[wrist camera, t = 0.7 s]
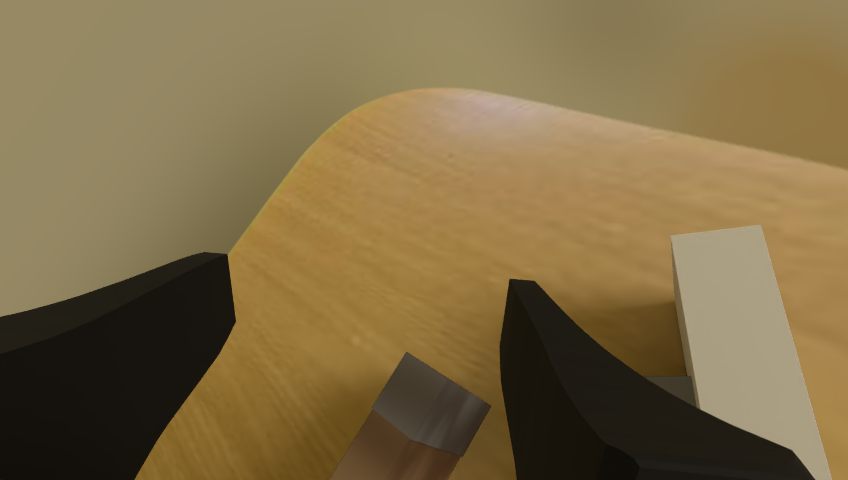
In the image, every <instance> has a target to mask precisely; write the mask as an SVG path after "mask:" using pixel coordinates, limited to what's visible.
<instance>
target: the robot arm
mask: <svg viewBox="0 0 848 480" xmlns="http://www.w3.org/2000/svg"><path fill="white" fill-rule="evenodd" d="M235 322H236V318H235V310H234V302H233V295H232V287H231V279H230V271H229V263H228V255H227V254H220V253H208V252H203V253H199V254H195V255H191V256H188V257H185V258H182V259H179V260H177V261H174V262H171V263H169V264H166V265H163V266H161V267H158V268H155V269H153V270H150V271H147V272H145V273H142V274H139V275H137V276H134V277H132V278H129V279H126V280H124V281H121V282H118V283H115V284H112V285H109V286H106V287H103V288H101V289H98V290H95V291H92V292H89V293H86V294H83V295H80V296H77V297H74V298H71V299H67V300H65V301H61V302H57V303H54V304H50V305H47V306H43V307H39V308H36V309H32V310H28V311H24V312H20V313H16V314H12V315H7V316H2V317H0V480H134V479H135V477H136V476H137V474H138V472H139V471H140V469H141V467H142V465H143V464H144V462H145V460H146V459H147V457H148V455H149V453H150V452H151V450H152V448H153V447H154V445H155V443H156V441H157V440H158V438H159V437H160V435H161V434H162V432H163V431H164V429H165V428H166V426H167V425H168V423H169V422H170V421H171V419H172V418H173V417H174V415H175V414H176V413H177V411H178V410H179V408H180V407H181V406H182V404H183V403H184V402H185V400H186V399H187V398H188V396H189V395H190V394H191V392H192V391H193V389H194V388H195V387H196V385H197V384H198V383H199V381H200V380H201V379H202V377H203V376H204V374H205V373H206V372H207V370H208V369H209V367H210V366H211V365H212V363H213V362H214V360H215V359H216V358H217V356H218V355H219V353H220V351H221V350H222V348H223V346H224V344H225V342H226V340H227V339H228V337H229V335H230V333H231V330H232V328H233V326H234V324H235ZM500 371H501V384H502V391H503V397H504V403H505V409H506V414H507V420H508V426H509V432H510V437H511V443H512V449H513V455H514V461H515V469H516V477H517V480H815V478H814V477H813V476H812V474H811V473H810V472H809V471H808V469H807V468H806V467H805V465H804V464H803V463H802V462H801V460H800V459H799V458H798V457H797V455H796V454H795V453H794V452H793V450H791V449H789V448H786V447H784V446H781V445H779V444H777V443H774V442H772V441H769V440H767V439H765V438H762V437H760V436H757V435H755V434H753V433H750V432H748V431H746V430H743V429H741V428H738V427H736V426H734V425H731V424H729V423H727V422H725V421H723V420H721V419H719V418H717V417H715V416H713V415H711V414H709V413H707V412H705V411H703V410H701V409H699V408H697V407H695V406H693V405H691V404H689V403H687V402H685V401H683V400H682V399H680V398H678V397H676V396H674V395H673V394H671V393H669V392H668V391H666V390H664V389H663V388H661V387H659V386H658V385H656V384H654V383H653V382H651V381H649V380H648V379H646V378H645V377H643V376H641V375H640V374H638V373H637V372H635V371H634V370H632V369H631V368H630V367H628V366H627V365H626V364H624V363H623V362H621V361H620V360H619V359H617V358H616V357H614V356H613V355H612V354H610V353H609V352H608V351H607V350H605V349H604V348H603V347H602V346H600V345H599V344H598V343H597V342H596V341H595V340H594V339H592V338H591V337H590V336H589V335H588V334H587V333H585V332H584V331H583V330H582V329H581V328H580V327H579V326H578V325H577V324H576V323H575V322H574V321H573V320H572V319H571V318H570V317H569V316H568V315H567V314H566V313H565V312H564V311H563V310H562V309H561V308H560V307H559V306H558V305H557V304H556V303H555V302H554V301H553V300H552V299H551V298H550V297H549V296H548V295H547V294H546V292H545V291H544V290H543V289H542V288H541V287H540V286H539V285H538V284H537V283H536V282H535V281H529V280H518V279H510V280H509V287H508V293H507V300H506V307H505V314H504V320H503V327H502V334H501V341H500Z"/></svg>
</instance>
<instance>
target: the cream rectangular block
mask: <svg viewBox="0 0 848 480" xmlns="http://www.w3.org/2000/svg"><path fill="white" fill-rule="evenodd" d="M671 250H672V266H673V282H674V297H675V306H676V312H677V318H678V324H679V330H680V336H681V342H682V348H683V354H684V360H685V366H686V372H687V376H643V377H645V378H646V379H648V380H649V381H651V382H653V383H654V384H656V385H658V386H659V387H661V388H663V389H664V390H666V391H668V392H669V393H671V394H673V395H674V396H676V397H678V398H680V399H682V400H683V401H685V402H687V403H689V404H691V405H693V406H695V407H697V408H699V409H701V410H703V411H705V412H707V413H709V414H711V415H713V416H715V417H717V418H719V419H721V420H723V421H725V422H727V423H729V424H731V425H734V426H736V427H738V428H741V429H743V430H746V431H748V432H750V433H753V434H755V435H757V436H760V437H762V438H765V439H767V440H769V441H772V442H774V443H777V444H779V445H781V446H784V447H786V448H789V449H791V450H793V452H794V453H795V454H796V455H797V457H798V458H799V459H800V460H801V462H802V463H803V464H804V465H805V467H806V468H807V469H808V471H809V472H810V473H811V474H812V476H813V477H814V478H815V480H832V477H831V474H830V470H829V466H828V463H827V459H826V456H825V452H824V449H823V445H822V441H821V438H820V434H819V431H818V427H817V424H816V420H815V416H814V413H813V409H812V406H811V402H810V399H809V395H808V391H807V388H806V384H805V381H804V377H803V374H802V370H801V366H800V363H799V359H798V356H797V352H796V349H795V345H794V342H793V338H792V334H791V331H790V327H789V324H788V320H787V317H786V313H785V309H784V306H783V302H782V299H781V295H780V292H779V288H778V284H777V281H776V277H775V274H774V270H773V267H772V263H771V259H770V256H769V252H768V249H767V245H766V242H765V238H764V234H763V231H762V227H761V225H755V226H746V227H738V228H730V229H721V230H713V231H705V232H696V233H688V234H680V235H671Z"/></svg>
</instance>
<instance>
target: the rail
mask: <svg viewBox="0 0 848 480" xmlns="http://www.w3.org/2000/svg"><path fill="white" fill-rule="evenodd" d="M490 407H491V406H490V405H489V404H487V403H486V402H484V401H483V400H481V399H479V398H478V397H476V396H475V395H473V394H472V393H470V392H469V391H467V390H466V389H464V388H463V387H461V386H460V385H458V384H457V383H455V382H453V381H452V380H450V379H449V378H447V377H446V376H444V375H442V374H441V373H439V372H438V371H436V370H435V369H433V368H431V367H430V366H428V365H427V364H425V363H424V362H422V361H420V360H419V359H417V358H416V357H414V356H413V355H411V354H409V353H408V352H406V353H405V355H404V356H403V358H402V360H401V361H400V363H399V364H398V366H397V368H396V369H395V371H394V373H393V374H392V376H391V377H390V379H389V381H388V382H387V384H386V385H385V387H384V389H383V390H382V392H381V393H380V395H379V397H378V398H377V400H376V401H375V403H374V405H373V406H372V408H373V410H372V411H371V413H370V415H369V416H368V418H367V419H366V421H365V423H364V424H363V426H362V427H361V429H360V431H359V432H358V434H357V435H356V437H355V439H354V440H353V442H352V443H351V445H350V447H349V448H348V450H347V452H346V453H345V455H344V456H343V458H342V460H341V461H340V463H339V464H338V466H337V468H336V469H335V471H334V472H333V474H332V476H331V477H330V479H329V480H447V479H448V478H449V476H450V474H451V472H452V471H453V469H454V467H455V465H456V464H457V462H458V460H459V458H460V456H462V457H463V455H464V453H465V451H466V450H467V448H468V446H469V444H470V443H471V441H472V439H473V437H474V435H475V434H476V432H477V430H478V428H479V427H480V425H481V423H482V421H483V420H484V418H485V416H486V414H487V412H488V411H489V409H490Z"/></svg>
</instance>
